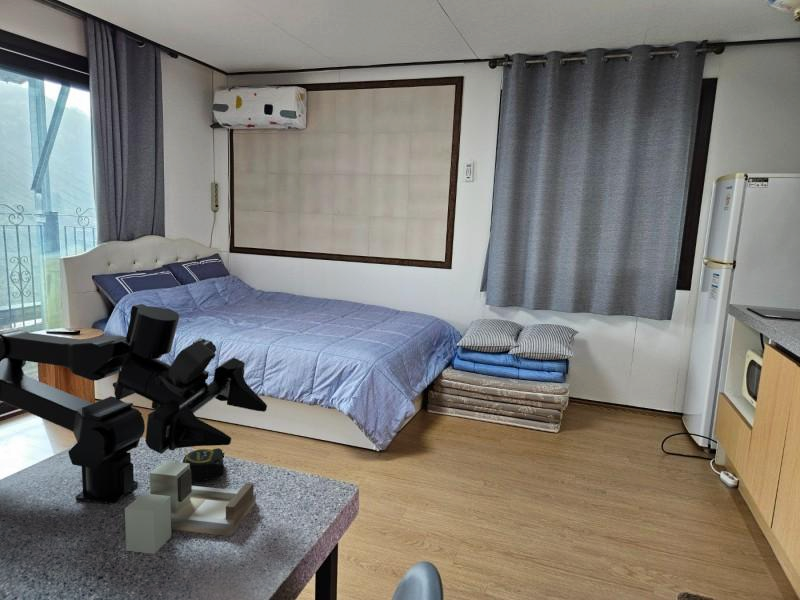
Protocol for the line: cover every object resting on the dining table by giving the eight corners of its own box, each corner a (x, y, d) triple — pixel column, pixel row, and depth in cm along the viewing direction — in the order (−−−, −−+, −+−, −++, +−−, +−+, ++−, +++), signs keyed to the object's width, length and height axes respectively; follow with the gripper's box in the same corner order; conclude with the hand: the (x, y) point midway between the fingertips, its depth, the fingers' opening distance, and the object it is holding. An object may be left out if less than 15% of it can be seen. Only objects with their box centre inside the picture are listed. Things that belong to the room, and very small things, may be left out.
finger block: (126, 550, 70) (124, 508, 69) (146, 531, 74) (145, 491, 74) (154, 554, 69) (153, 511, 69) (173, 534, 74) (172, 494, 73)
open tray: (137, 525, 76) (136, 480, 75) (171, 494, 84) (171, 453, 83) (230, 536, 74) (230, 490, 73) (255, 503, 83) (256, 462, 82)
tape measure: (224, 483, 89) (224, 462, 89) (180, 487, 87) (180, 466, 86) (224, 465, 96) (224, 445, 95) (183, 468, 93) (183, 448, 93)
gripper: (113, 362, 67) (217, 411, 65) (205, 314, 84) (291, 351, 81) (108, 431, 72) (205, 479, 69) (197, 372, 89) (278, 409, 86)
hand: (249, 424), depth 76 cm, fingers open, 9 cm apart
